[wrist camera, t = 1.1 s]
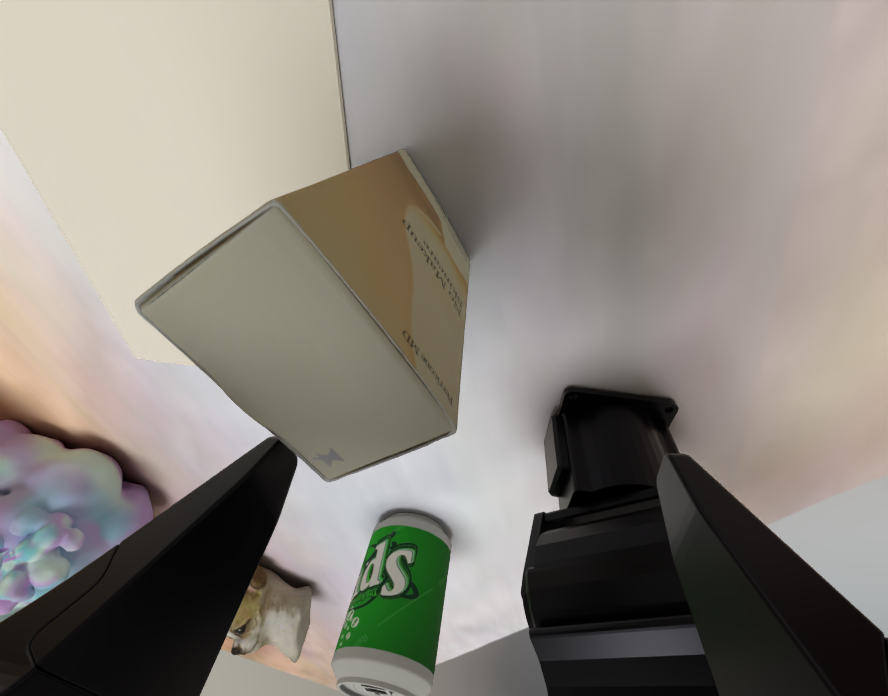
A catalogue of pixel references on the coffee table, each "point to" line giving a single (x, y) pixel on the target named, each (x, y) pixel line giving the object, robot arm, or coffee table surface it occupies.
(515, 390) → the coffee table surface
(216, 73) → the cream mat
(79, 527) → the lilac mottled toy
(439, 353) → the skincare box
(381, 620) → the soda can
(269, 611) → the ceramic sculpture
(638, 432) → the robot arm
